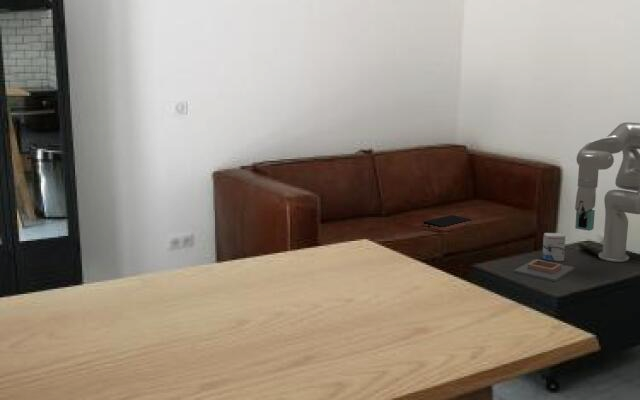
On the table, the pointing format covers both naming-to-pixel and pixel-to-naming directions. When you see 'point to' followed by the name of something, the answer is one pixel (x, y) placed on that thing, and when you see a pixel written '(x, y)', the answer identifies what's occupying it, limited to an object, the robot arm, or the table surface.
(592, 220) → the block
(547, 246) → the ink box
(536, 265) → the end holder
